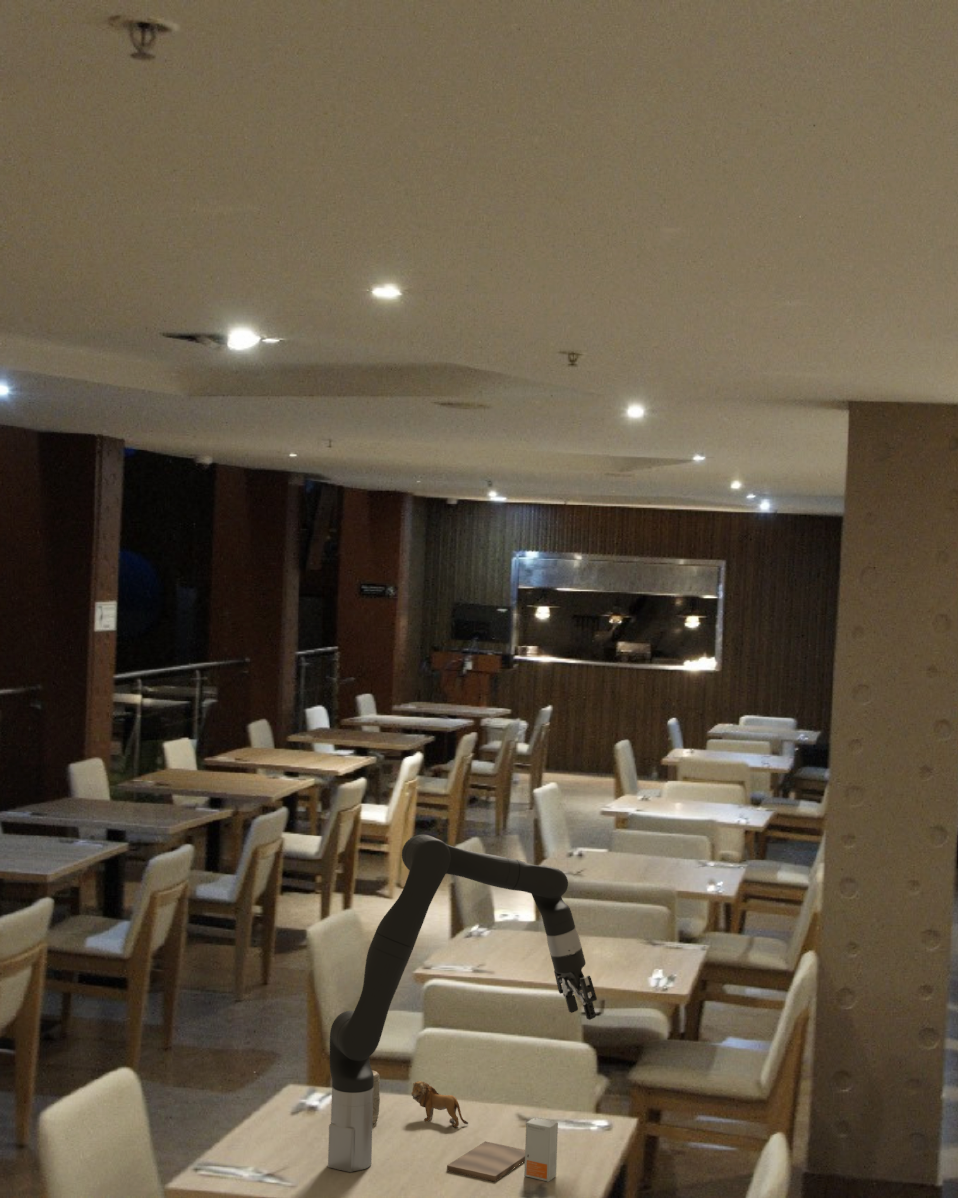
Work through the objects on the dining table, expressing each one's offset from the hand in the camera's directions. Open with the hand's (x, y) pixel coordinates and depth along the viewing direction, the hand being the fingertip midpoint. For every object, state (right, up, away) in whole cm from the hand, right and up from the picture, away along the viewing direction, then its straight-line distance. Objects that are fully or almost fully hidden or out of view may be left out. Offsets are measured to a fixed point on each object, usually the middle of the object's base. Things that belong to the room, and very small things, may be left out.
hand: (582, 1015), depth 367 cm
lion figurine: (-34, -29, +10) cm, 46 cm away
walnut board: (-22, -29, -17) cm, 40 cm away
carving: (-52, -28, +8) cm, 59 cm away
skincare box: (-11, -29, -24) cm, 39 cm away
